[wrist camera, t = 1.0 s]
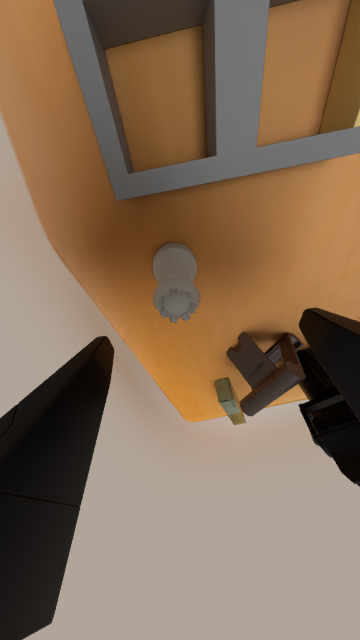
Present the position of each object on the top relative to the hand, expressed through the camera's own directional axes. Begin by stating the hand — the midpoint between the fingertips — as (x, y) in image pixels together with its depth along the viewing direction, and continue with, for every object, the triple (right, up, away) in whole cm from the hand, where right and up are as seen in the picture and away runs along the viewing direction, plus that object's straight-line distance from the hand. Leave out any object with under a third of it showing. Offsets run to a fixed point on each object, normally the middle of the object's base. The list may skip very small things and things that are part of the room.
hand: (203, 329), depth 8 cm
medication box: (+9, -14, +26) cm, 31 cm away
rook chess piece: (-2, +6, +10) cm, 12 cm away
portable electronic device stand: (+11, -4, +18) cm, 21 cm away
